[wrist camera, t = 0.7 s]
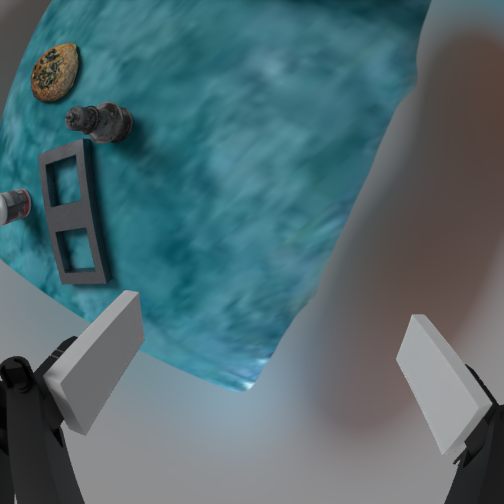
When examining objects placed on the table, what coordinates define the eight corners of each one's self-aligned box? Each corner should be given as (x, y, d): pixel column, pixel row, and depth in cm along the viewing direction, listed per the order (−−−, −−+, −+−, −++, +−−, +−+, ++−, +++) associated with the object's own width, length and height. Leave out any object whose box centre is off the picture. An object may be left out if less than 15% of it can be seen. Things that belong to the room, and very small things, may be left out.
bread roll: (28, 84, 32) (12, 79, 27) (68, 37, 31) (55, 27, 26) (53, 116, 35) (36, 112, 30) (98, 65, 33) (84, 55, 28)
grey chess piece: (100, 147, 36) (47, 147, 24) (100, 109, 34) (48, 98, 22) (134, 141, 35) (85, 138, 24) (135, 101, 34) (87, 85, 22)
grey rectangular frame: (46, 154, 36) (38, 154, 34) (90, 139, 35) (82, 138, 33) (68, 279, 43) (62, 284, 41) (112, 278, 42) (106, 283, 40)
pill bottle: (25, 223, 40) (-12, 237, 31) (12, 203, 39) (-24, 214, 30) (36, 202, 39) (-3, 214, 30) (22, 182, 38) (-16, 190, 29)
